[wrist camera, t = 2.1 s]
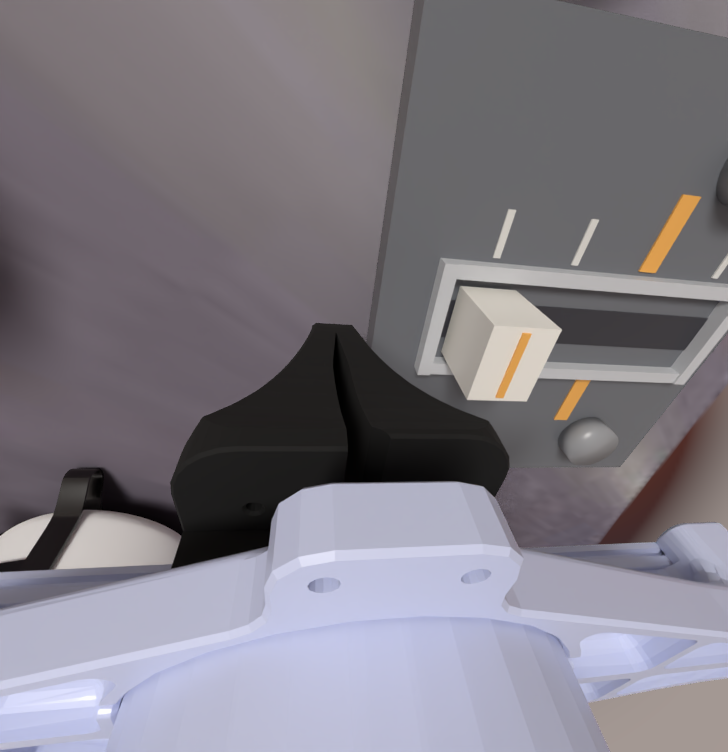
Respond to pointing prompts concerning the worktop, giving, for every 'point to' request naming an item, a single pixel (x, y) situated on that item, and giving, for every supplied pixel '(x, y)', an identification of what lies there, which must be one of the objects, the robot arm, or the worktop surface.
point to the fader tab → (497, 344)
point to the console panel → (559, 212)
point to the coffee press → (85, 533)
